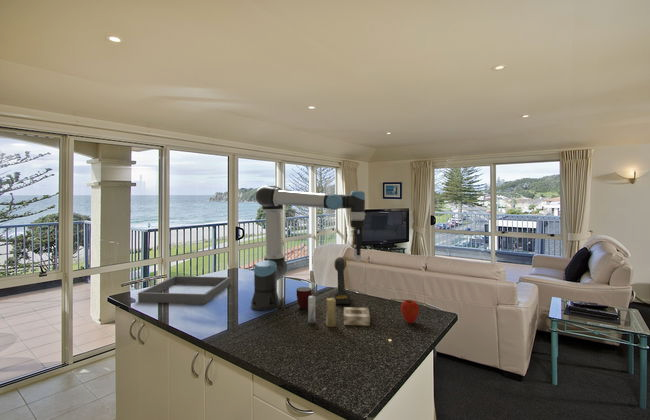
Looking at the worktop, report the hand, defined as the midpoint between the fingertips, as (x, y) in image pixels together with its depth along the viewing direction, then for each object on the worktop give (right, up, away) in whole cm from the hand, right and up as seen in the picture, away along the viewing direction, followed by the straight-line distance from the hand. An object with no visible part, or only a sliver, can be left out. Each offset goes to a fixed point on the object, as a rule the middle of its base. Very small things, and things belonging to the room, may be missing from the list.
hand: (357, 258), depth 174 cm
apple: (+22, -27, -24) cm, 42 cm away
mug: (-28, -26, -5) cm, 38 cm away
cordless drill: (-8, -25, +9) cm, 28 cm away
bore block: (-3, -26, -21) cm, 34 cm away
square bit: (-15, -26, -27) cm, 41 cm away
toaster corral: (-100, -24, +20) cm, 105 cm away
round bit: (-24, -26, -24) cm, 42 cm away
